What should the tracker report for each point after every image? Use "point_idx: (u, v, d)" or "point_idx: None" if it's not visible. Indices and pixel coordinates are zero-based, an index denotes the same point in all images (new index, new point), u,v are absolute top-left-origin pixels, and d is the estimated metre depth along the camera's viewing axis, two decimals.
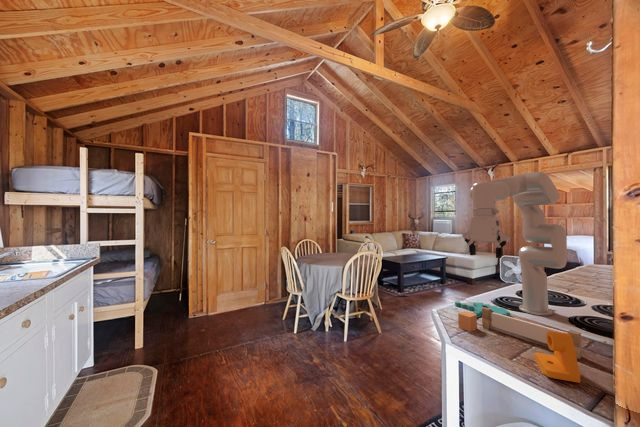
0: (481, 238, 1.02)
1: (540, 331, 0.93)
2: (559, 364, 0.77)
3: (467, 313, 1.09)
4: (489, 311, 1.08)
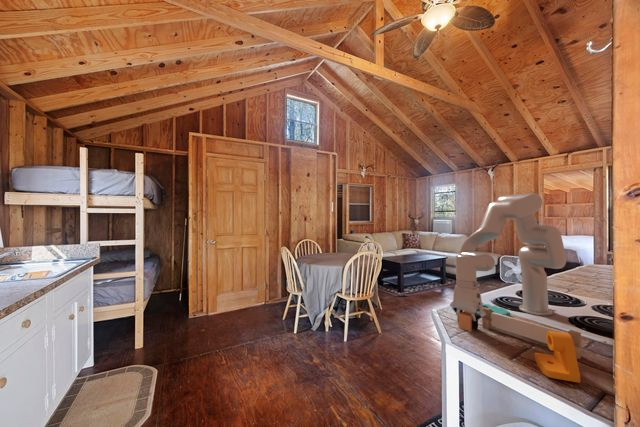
0: (463, 308, 1.08)
1: (540, 331, 0.93)
2: (559, 364, 0.77)
3: (467, 313, 1.09)
4: (489, 311, 1.08)
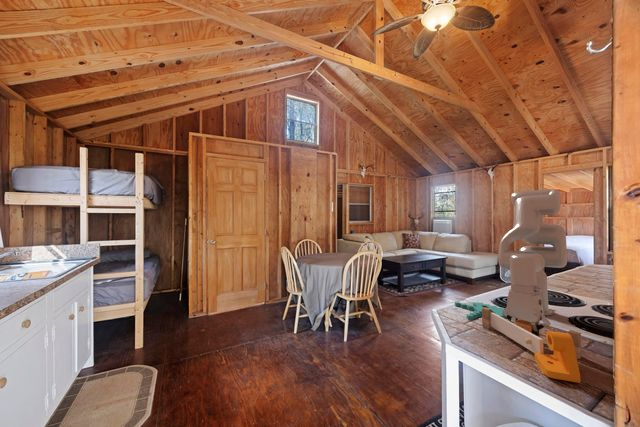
0: (521, 316, 0.94)
1: (521, 334, 0.91)
2: (559, 364, 0.77)
3: (524, 322, 0.96)
4: (489, 311, 1.08)
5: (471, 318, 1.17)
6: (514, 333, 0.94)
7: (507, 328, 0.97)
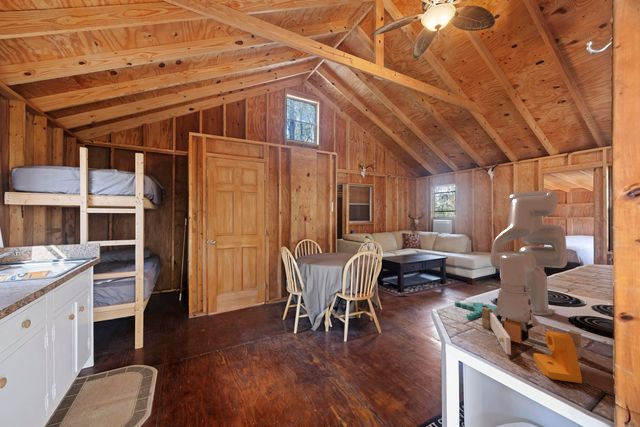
0: (511, 316, 0.94)
1: (500, 333, 0.92)
2: (559, 364, 0.77)
3: (514, 321, 0.96)
4: (489, 311, 1.08)
5: (471, 318, 1.17)
6: (497, 332, 0.95)
7: (495, 327, 0.98)
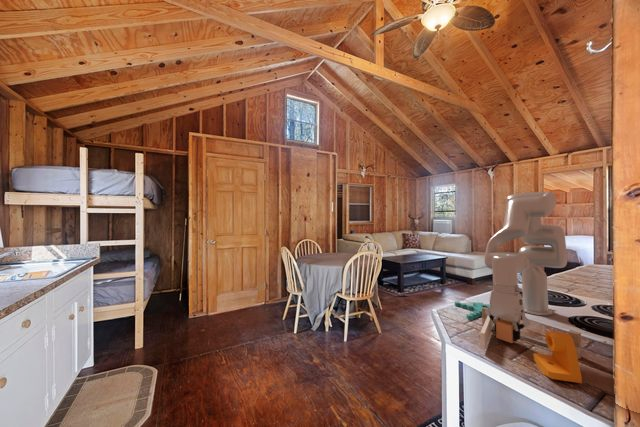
0: (503, 316, 0.95)
1: None
2: (559, 364, 0.77)
3: (506, 321, 0.97)
4: None
5: (471, 318, 1.17)
6: None
7: None
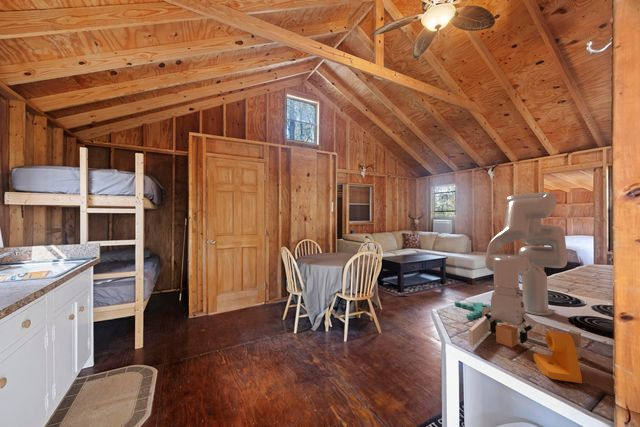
0: (504, 318, 0.95)
1: None
2: (559, 364, 0.77)
3: (506, 326, 0.96)
4: (489, 311, 1.08)
5: (471, 318, 1.17)
6: None
7: None
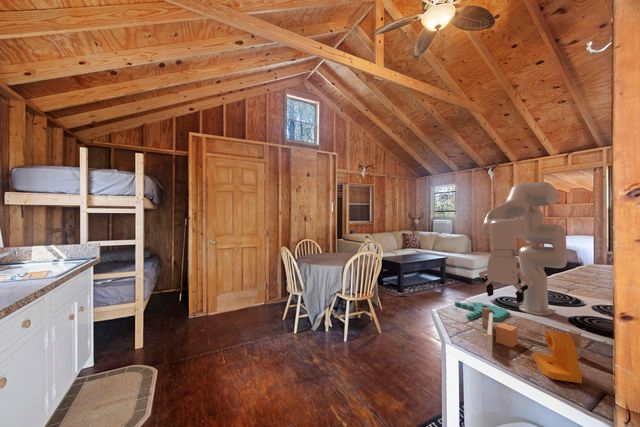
0: (500, 280, 0.95)
1: None
2: (559, 364, 0.77)
3: (506, 326, 0.96)
4: (489, 311, 1.08)
5: (471, 318, 1.17)
6: None
7: None
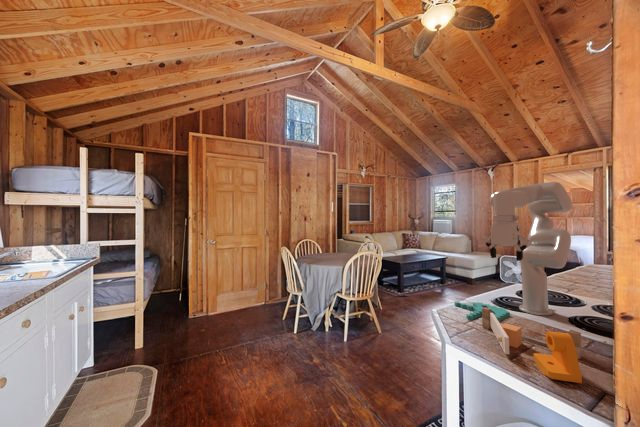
0: (502, 242, 1.10)
1: (499, 333, 0.92)
2: (559, 364, 0.77)
3: (510, 326, 0.96)
4: (489, 311, 1.08)
5: (471, 318, 1.17)
6: (497, 332, 0.95)
7: (495, 327, 0.98)
